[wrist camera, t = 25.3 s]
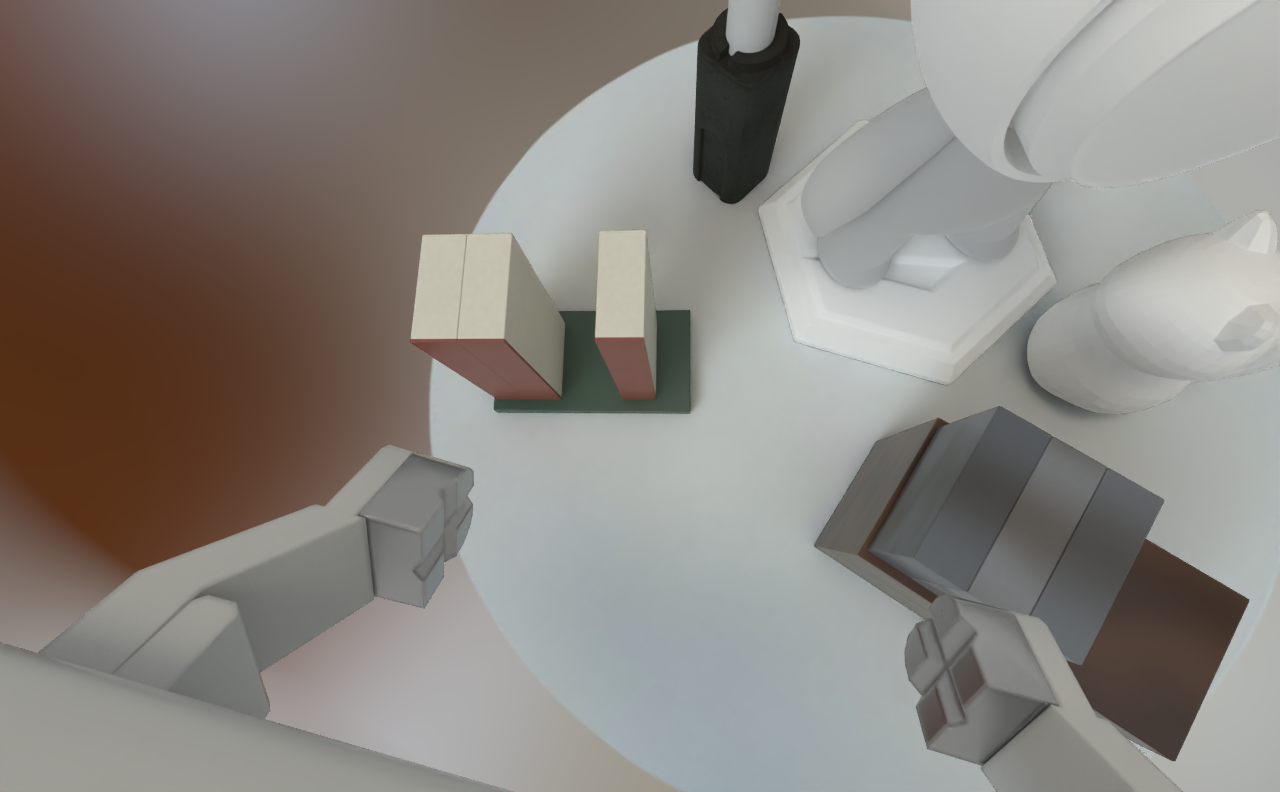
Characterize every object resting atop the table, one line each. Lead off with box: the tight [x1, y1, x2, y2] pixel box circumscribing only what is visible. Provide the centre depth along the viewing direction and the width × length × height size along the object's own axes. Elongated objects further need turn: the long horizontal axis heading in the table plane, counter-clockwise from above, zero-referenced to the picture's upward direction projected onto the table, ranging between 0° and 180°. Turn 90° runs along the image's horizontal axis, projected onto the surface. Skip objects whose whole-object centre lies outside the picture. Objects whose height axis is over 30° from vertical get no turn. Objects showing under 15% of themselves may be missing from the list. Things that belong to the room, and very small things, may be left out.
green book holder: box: [410, 233, 690, 413], centre depth 36 cm, size 8×15×15 cm, turn 89°
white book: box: [595, 230, 657, 399], centre depth 35 cm, size 6×2×14 cm, turn 179°
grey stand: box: [814, 406, 1249, 761], centre depth 30 cm, size 9×17×16 cm, turn 56°
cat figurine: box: [1027, 210, 1280, 414], centre depth 33 cm, size 9×12×15 cm
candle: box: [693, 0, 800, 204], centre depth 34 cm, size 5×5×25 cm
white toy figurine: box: [758, 0, 1280, 385], centre depth 26 cm, size 20×23×35 cm
